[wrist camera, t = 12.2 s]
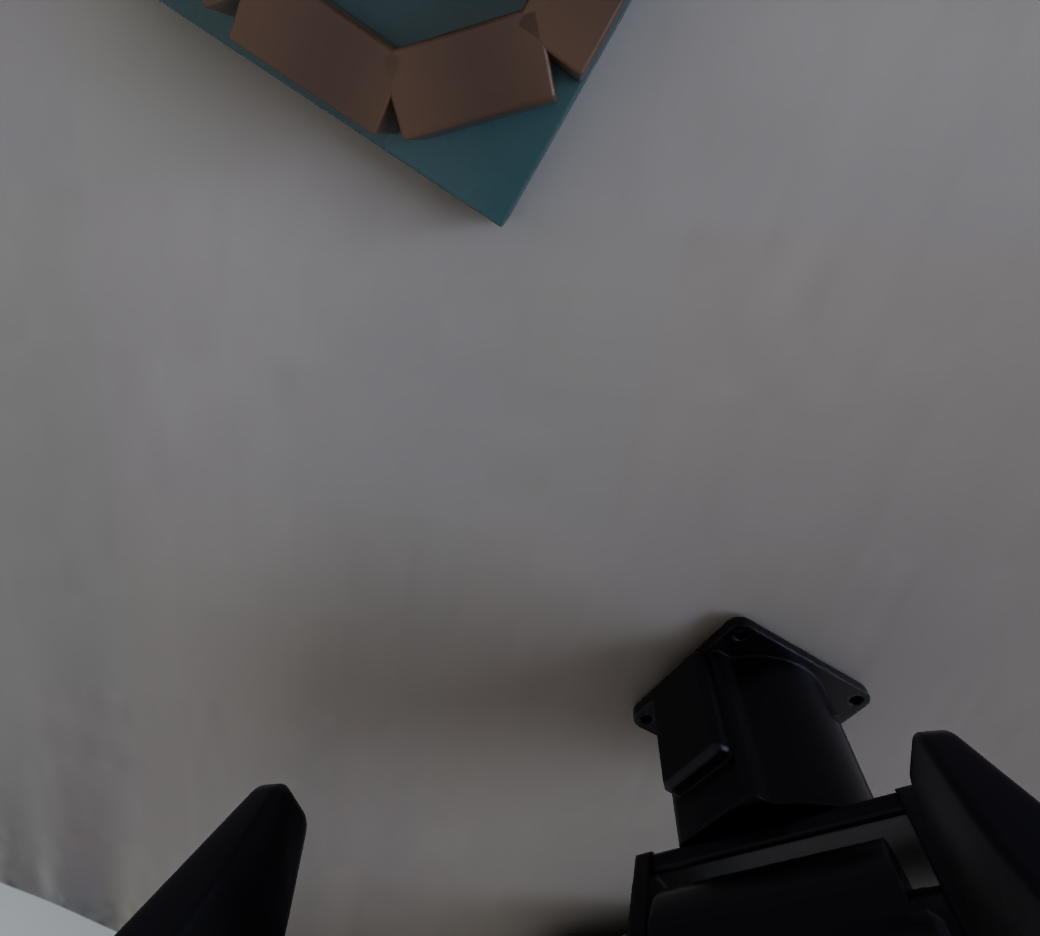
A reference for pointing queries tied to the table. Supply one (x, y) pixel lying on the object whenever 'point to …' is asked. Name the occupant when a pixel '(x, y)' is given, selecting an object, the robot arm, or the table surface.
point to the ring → (424, 60)
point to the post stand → (457, 155)
